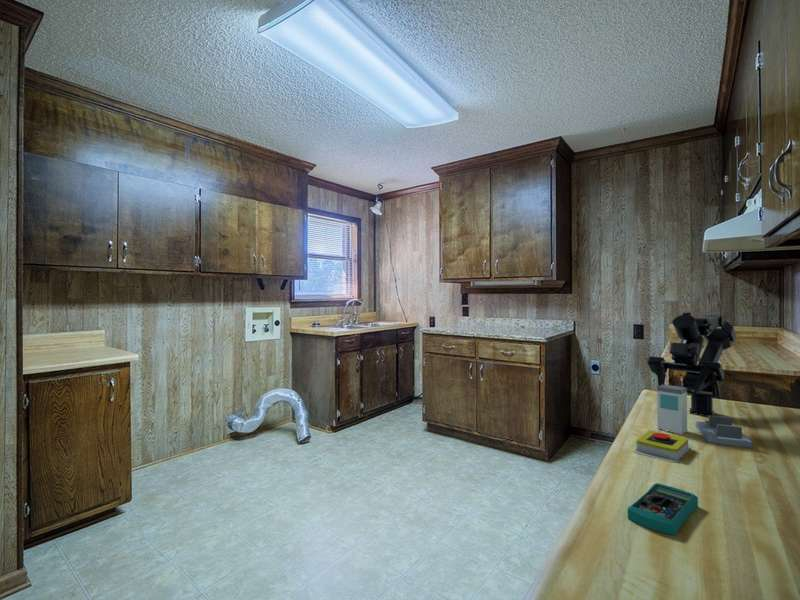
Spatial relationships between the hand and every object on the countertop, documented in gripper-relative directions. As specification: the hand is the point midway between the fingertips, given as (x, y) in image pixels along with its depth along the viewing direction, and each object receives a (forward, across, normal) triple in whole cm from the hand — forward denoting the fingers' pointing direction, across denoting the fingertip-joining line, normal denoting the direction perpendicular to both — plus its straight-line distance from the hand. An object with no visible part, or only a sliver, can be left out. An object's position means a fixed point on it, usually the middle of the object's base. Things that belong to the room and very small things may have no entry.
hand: (677, 390), depth 120 cm
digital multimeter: (+48, +16, -31) cm, 59 cm away
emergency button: (+24, +4, -7) cm, 25 cm away
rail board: (+7, +10, +8) cm, 15 cm away
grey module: (+11, 0, +5) cm, 12 cm away
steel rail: (+6, +11, +7) cm, 14 cm away
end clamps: (+8, +12, +5) cm, 15 cm away
